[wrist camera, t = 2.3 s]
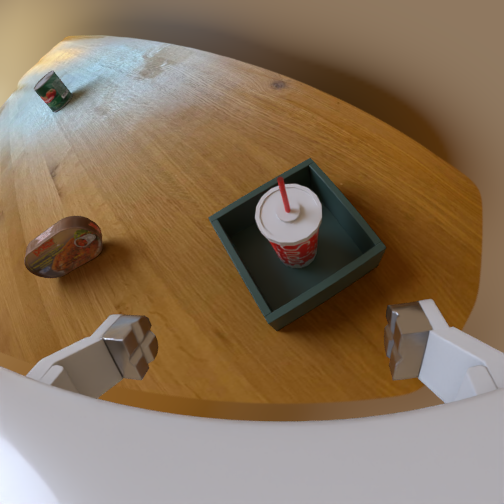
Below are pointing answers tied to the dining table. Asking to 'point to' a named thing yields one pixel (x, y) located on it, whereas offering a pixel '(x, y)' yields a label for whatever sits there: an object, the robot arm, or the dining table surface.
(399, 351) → the robot arm
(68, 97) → the canned tomato
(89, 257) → the tin
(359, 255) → the bin
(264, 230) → the beverage cup
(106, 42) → the dining table surface
